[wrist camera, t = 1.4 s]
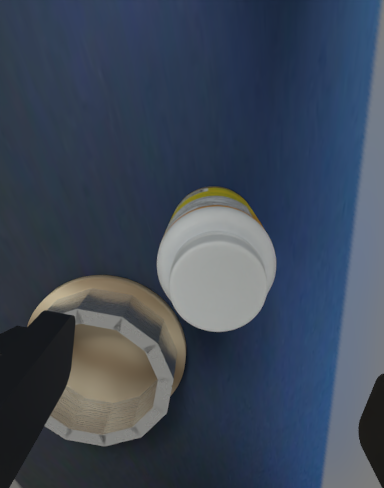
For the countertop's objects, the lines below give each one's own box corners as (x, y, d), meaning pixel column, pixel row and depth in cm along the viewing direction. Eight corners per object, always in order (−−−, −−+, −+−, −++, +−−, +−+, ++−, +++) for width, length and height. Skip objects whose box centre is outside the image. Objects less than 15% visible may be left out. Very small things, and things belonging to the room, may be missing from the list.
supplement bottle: (239, 272, 24) (261, 365, 15) (163, 251, 24) (133, 331, 14) (266, 197, 23) (310, 244, 13) (184, 173, 22) (166, 203, 13)
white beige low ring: (38, 277, 24) (15, 297, 21) (186, 305, 24) (183, 328, 21) (32, 398, 27) (11, 429, 24) (163, 422, 27) (158, 455, 24)
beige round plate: (34, 261, 25) (27, 266, 24) (199, 291, 25) (199, 297, 24) (28, 395, 28) (22, 404, 27) (172, 421, 28) (171, 431, 27)
